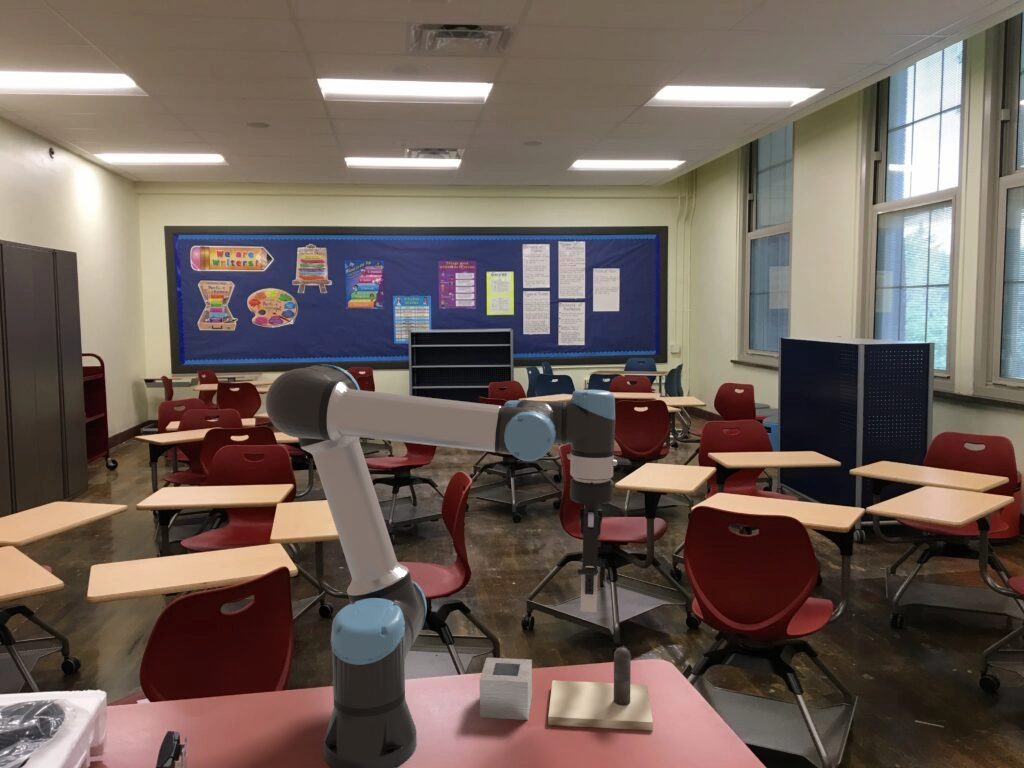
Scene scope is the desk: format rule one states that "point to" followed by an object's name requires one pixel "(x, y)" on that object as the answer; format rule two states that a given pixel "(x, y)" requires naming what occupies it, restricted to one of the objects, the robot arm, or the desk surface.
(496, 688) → the gray cube
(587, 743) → the desk surface
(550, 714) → the board
